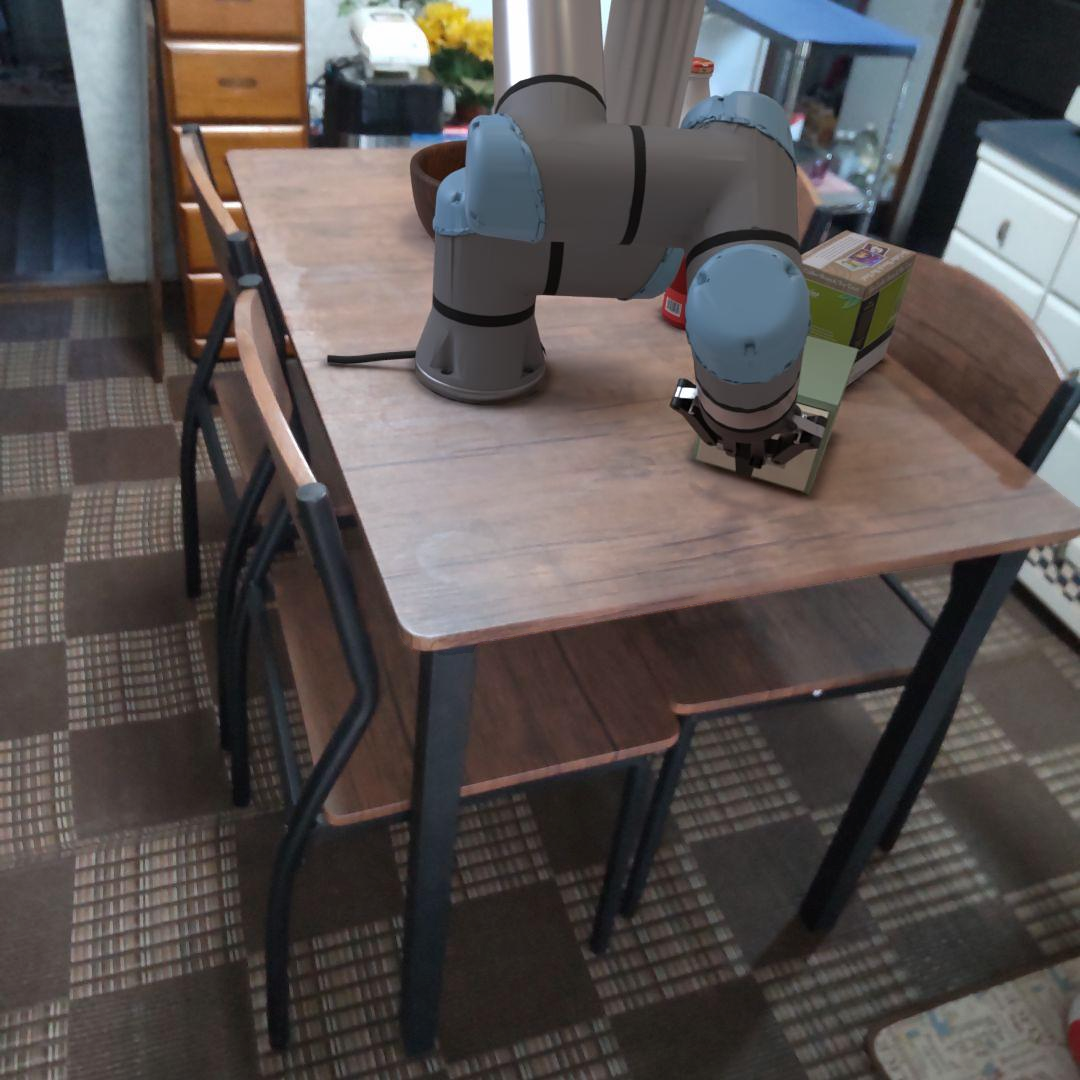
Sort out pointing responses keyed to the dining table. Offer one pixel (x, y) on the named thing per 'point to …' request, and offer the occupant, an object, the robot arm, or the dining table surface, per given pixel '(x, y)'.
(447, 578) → the dining table surface
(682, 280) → the canned food
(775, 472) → the cabinet drawer
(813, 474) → the mini drawer cabinet
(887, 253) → the tea box
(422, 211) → the wooden bowl
